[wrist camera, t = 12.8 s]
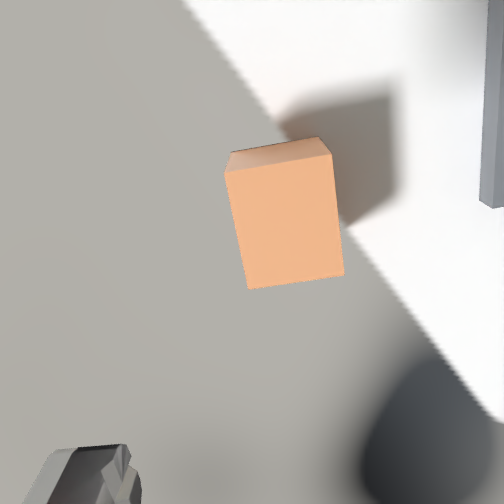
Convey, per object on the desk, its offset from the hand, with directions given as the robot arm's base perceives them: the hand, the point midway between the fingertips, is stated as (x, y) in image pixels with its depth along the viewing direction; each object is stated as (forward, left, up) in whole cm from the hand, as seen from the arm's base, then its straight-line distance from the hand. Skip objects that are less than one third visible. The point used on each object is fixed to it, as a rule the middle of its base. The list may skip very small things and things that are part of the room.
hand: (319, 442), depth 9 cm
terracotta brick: (0, 0, -17) cm, 17 cm away
